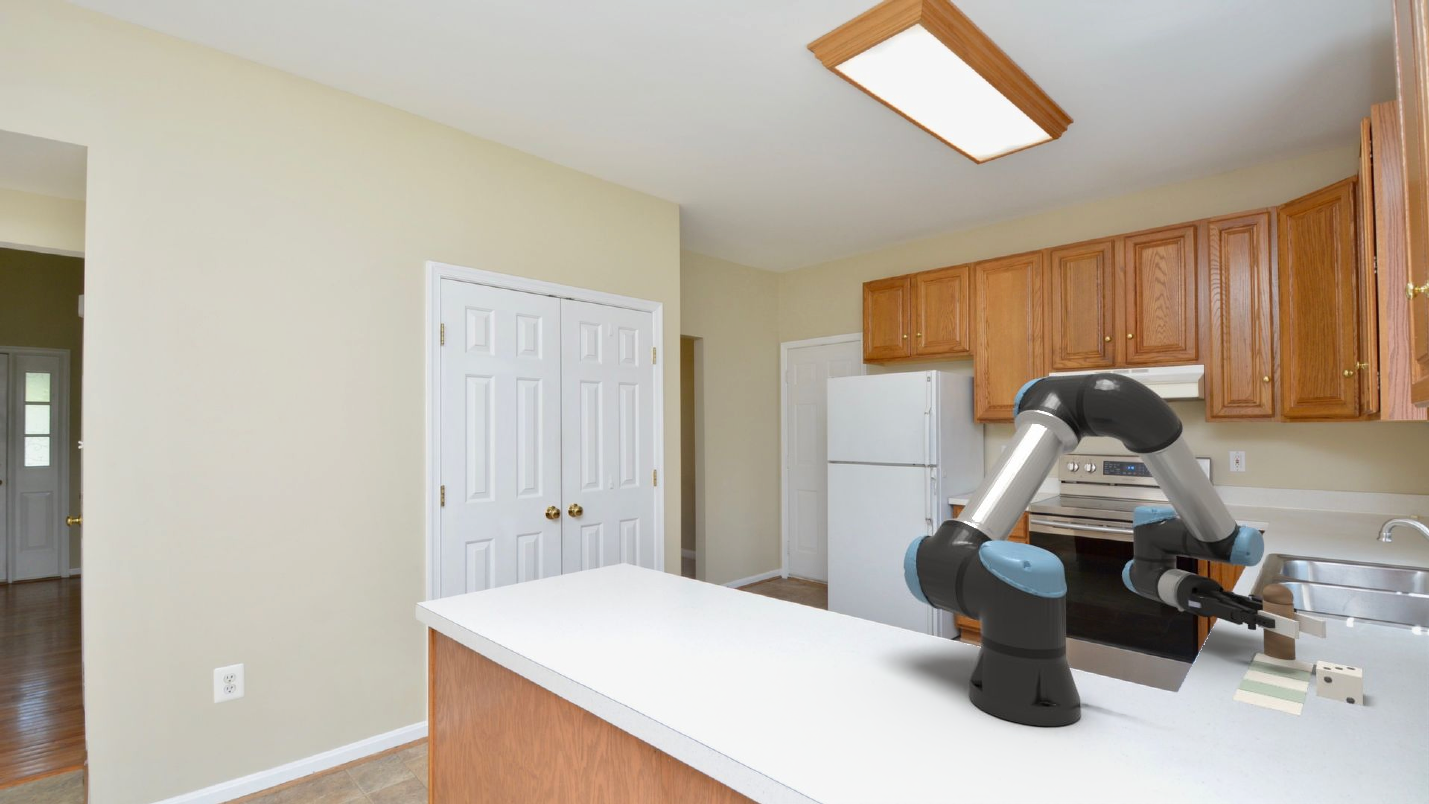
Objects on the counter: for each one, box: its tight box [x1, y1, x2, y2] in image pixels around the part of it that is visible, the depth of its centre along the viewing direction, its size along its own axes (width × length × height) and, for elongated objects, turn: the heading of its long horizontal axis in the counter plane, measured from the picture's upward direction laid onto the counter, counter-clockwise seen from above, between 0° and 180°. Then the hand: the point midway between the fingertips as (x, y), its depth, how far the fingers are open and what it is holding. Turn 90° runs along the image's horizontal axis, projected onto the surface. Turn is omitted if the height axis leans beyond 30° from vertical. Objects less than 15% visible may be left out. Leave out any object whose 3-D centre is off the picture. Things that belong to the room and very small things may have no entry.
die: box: [1315, 660, 1364, 707], centre depth 100 cm, size 5×5×5 cm
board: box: [1232, 652, 1317, 717], centre depth 106 cm, size 8×30×1 cm, turn 135°
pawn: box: [1261, 583, 1297, 660], centre depth 110 cm, size 4×4×12 cm
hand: (1310, 629), depth 105 cm, fingers closed on pawn, 4 cm apart
